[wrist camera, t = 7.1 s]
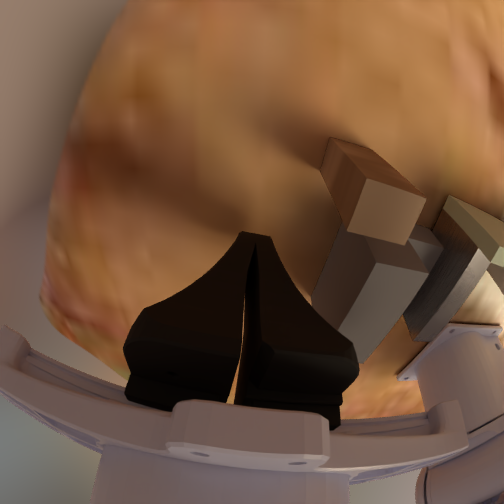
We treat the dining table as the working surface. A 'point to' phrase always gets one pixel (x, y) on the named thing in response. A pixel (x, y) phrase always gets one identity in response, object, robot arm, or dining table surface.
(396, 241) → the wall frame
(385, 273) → the block
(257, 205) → the dining table surface
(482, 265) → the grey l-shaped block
